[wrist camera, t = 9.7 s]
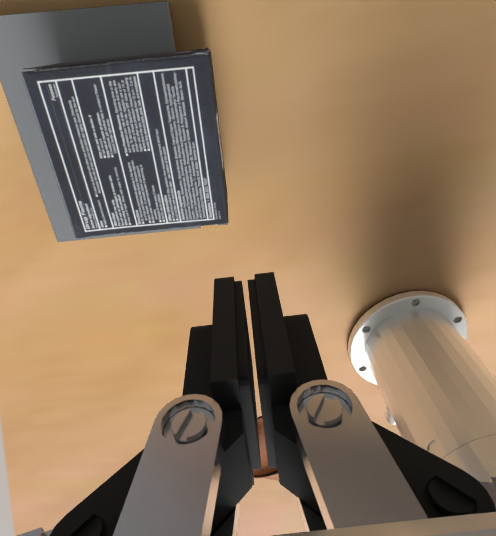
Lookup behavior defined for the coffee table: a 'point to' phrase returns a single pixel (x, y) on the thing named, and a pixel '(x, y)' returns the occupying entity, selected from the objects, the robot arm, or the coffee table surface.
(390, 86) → the coffee table surface
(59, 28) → the rubber pad
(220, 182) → the small box
